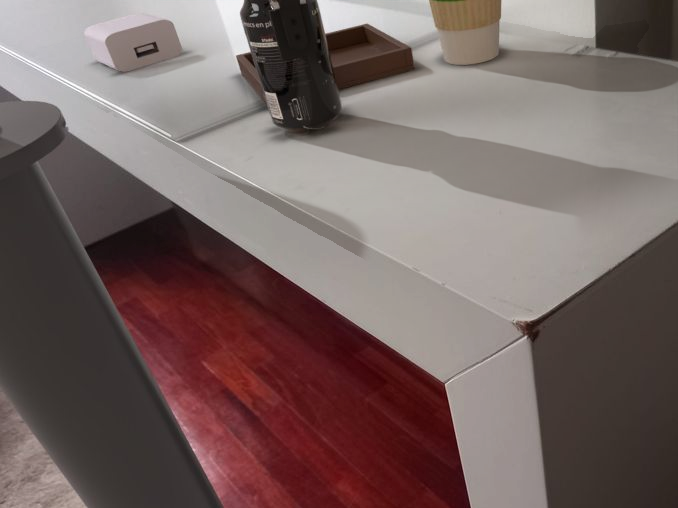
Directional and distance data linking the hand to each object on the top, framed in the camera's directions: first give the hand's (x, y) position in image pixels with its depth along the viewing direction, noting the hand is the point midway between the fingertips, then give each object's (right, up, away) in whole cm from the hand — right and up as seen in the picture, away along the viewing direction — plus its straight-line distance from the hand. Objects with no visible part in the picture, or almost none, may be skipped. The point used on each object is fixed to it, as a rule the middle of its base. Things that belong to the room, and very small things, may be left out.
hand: (289, 45), depth 62 cm
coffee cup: (+17, +6, +15) cm, 23 cm away
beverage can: (+1, -6, +5) cm, 7 cm away
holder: (0, +5, +17) cm, 18 cm away
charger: (-31, +14, +35) cm, 48 cm away
